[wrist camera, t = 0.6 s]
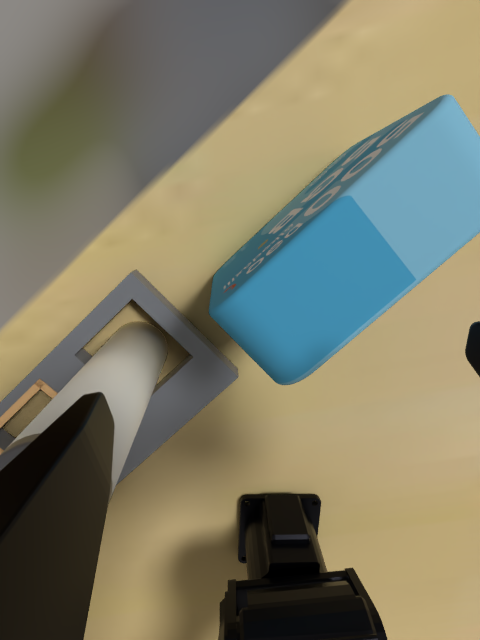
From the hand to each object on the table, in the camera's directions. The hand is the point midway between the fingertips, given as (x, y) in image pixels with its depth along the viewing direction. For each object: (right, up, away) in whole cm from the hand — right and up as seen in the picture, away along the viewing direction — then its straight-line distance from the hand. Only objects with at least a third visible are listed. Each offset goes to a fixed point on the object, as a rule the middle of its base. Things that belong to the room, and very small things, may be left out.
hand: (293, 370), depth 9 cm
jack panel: (-11, -5, +18) cm, 22 cm away
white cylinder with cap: (-8, -1, +17) cm, 19 cm away
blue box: (+3, +7, +16) cm, 18 cm away
